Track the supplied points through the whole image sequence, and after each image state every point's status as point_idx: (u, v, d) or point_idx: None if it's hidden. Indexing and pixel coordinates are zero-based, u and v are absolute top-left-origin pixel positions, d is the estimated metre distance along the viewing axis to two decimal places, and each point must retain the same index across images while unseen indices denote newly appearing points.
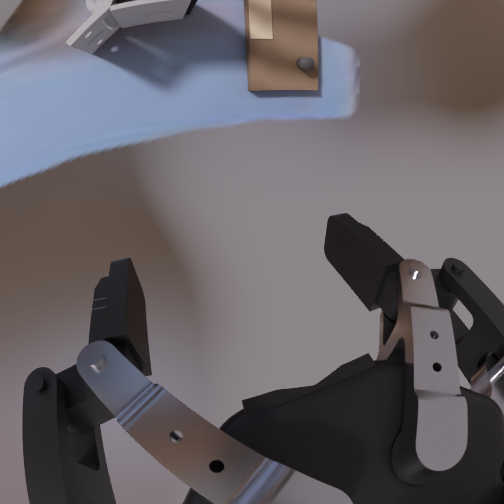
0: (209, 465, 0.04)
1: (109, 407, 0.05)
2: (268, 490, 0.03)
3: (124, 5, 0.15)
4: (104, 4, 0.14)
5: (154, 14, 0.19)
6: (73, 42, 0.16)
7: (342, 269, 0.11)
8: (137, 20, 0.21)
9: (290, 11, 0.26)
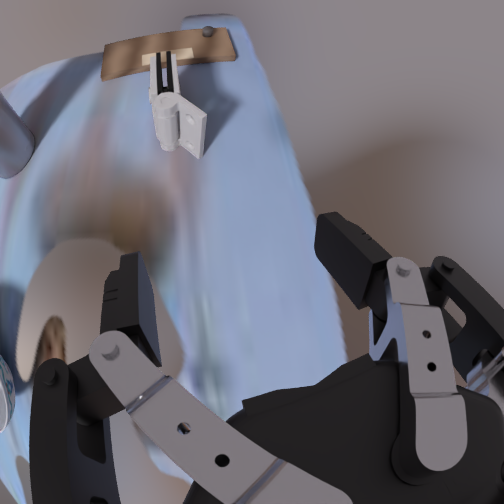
0: (215, 459, 0.04)
1: (119, 396, 0.05)
2: (268, 490, 0.03)
3: (176, 84, 0.28)
4: (171, 96, 0.27)
5: (179, 89, 0.32)
6: None
7: (331, 267, 0.11)
8: None
9: (165, 43, 0.38)
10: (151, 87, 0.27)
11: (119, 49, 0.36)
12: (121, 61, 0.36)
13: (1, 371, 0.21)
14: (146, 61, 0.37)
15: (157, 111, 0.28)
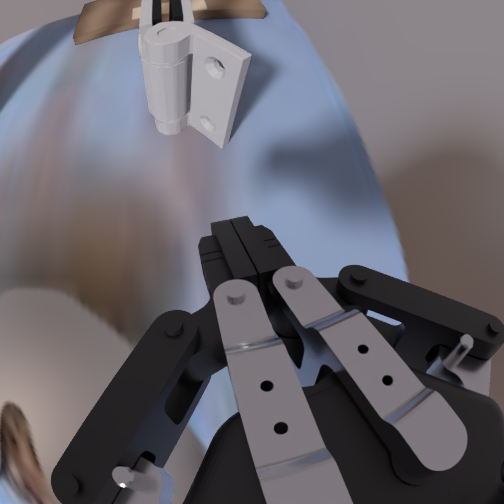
0: (275, 424, 0.04)
1: (223, 336, 0.06)
2: (268, 490, 0.03)
3: (188, 11, 0.12)
4: (179, 26, 0.12)
5: None
6: (245, 52, 0.12)
7: None
8: None
9: None
10: (141, 17, 0.12)
11: (102, 6, 0.21)
12: (103, 17, 0.20)
13: None
14: (138, 14, 0.21)
15: (150, 52, 0.12)
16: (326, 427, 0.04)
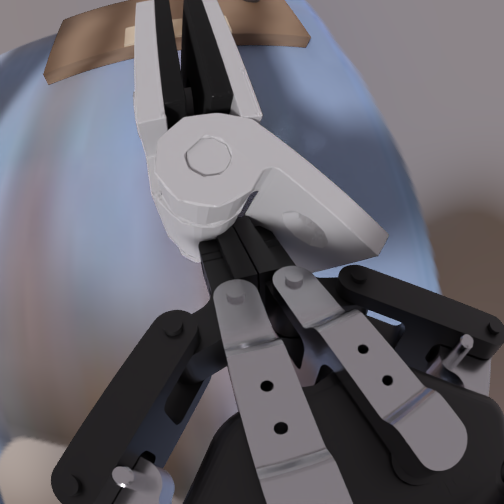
0: (275, 424, 0.04)
1: (223, 336, 0.06)
2: (268, 490, 0.03)
3: (242, 81, 0.07)
4: (234, 135, 0.07)
5: None
6: (377, 226, 0.07)
7: None
8: None
9: (172, 8, 0.17)
10: (139, 92, 0.07)
11: (85, 23, 0.16)
12: (84, 42, 0.15)
13: None
14: (133, 38, 0.16)
15: (174, 205, 0.07)
16: (326, 427, 0.04)
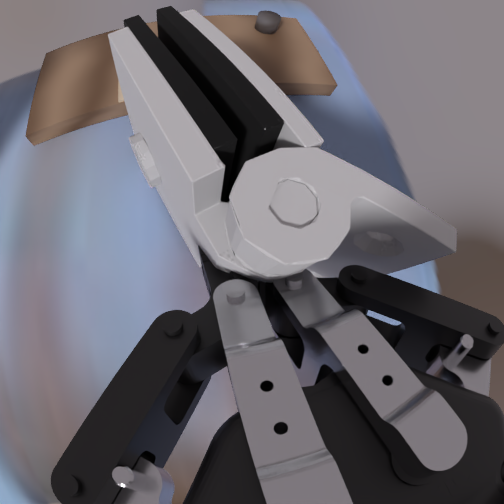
0: (275, 424, 0.04)
1: (223, 336, 0.06)
2: (268, 490, 0.03)
3: (285, 104, 0.07)
4: (309, 171, 0.06)
5: None
6: (447, 225, 0.07)
7: None
8: None
9: None
10: (174, 140, 0.06)
11: (71, 60, 0.15)
12: (70, 92, 0.14)
13: None
14: None
15: (267, 266, 0.06)
16: (326, 427, 0.04)
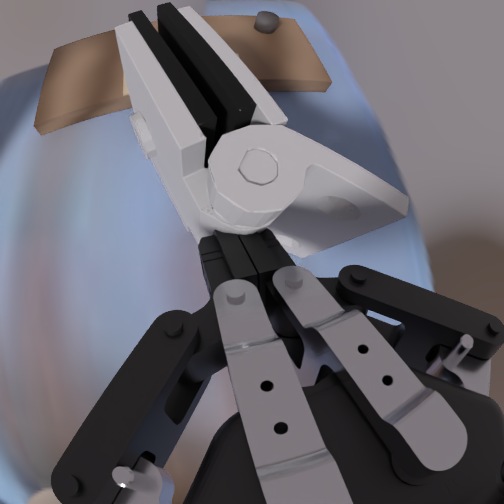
0: (275, 424, 0.04)
1: (223, 336, 0.06)
2: (268, 490, 0.03)
3: (259, 90, 0.08)
4: (272, 143, 0.08)
5: None
6: (399, 193, 0.08)
7: None
8: None
9: None
10: (168, 118, 0.07)
11: (78, 56, 0.15)
12: (78, 85, 0.15)
13: None
14: None
15: (236, 216, 0.08)
16: (326, 427, 0.04)
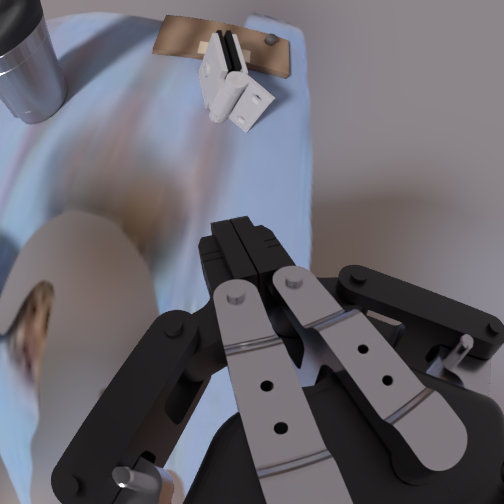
0: (275, 424, 0.04)
1: (224, 336, 0.06)
2: (268, 490, 0.03)
3: (244, 65, 0.30)
4: (242, 76, 0.30)
5: None
6: (272, 96, 0.31)
7: None
8: None
9: None
10: (221, 64, 0.29)
11: (179, 25, 0.35)
12: (177, 40, 0.35)
13: None
14: (202, 49, 0.36)
15: (228, 88, 0.30)
16: (326, 427, 0.04)
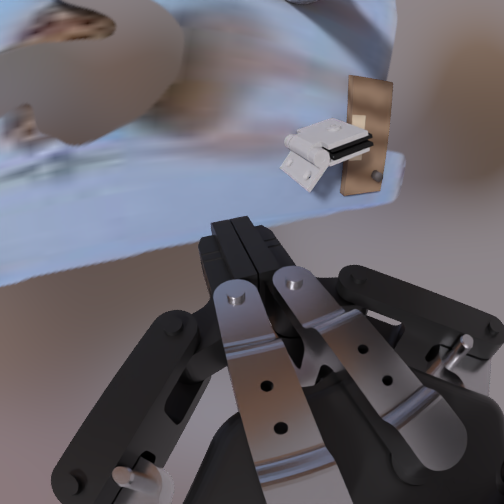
0: (275, 424, 0.04)
1: (223, 336, 0.06)
2: (268, 490, 0.03)
3: (337, 162, 0.38)
4: (325, 162, 0.38)
5: None
6: (311, 189, 0.40)
7: None
8: None
9: (373, 137, 0.47)
10: (334, 143, 0.36)
11: (381, 95, 0.42)
12: (364, 95, 0.41)
13: None
14: (356, 119, 0.43)
15: (312, 152, 0.37)
16: (326, 427, 0.04)
